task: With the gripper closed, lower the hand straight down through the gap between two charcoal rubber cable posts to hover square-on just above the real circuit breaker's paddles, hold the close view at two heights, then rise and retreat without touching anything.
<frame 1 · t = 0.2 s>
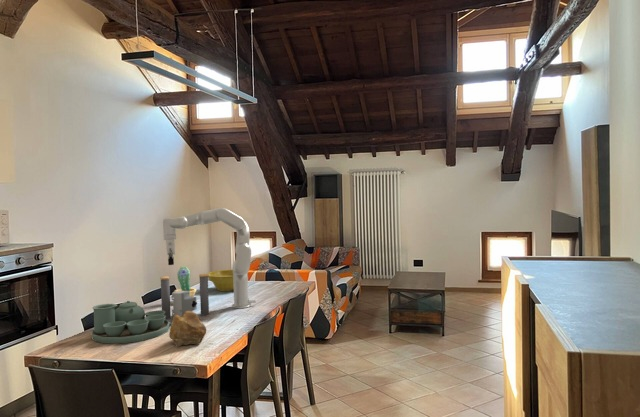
hand: (171, 263, 300), 31 cm above the table, fingers open, 9 cm apart
tea set: (132, 333, 258), on the table
planter bowl: (227, 289, 374), on the table
potted cactus: (185, 301, 334), on the table
circuit breaker: (185, 316, 291), on the table
post 2: (204, 314, 295), on the table
post 1: (166, 318, 288), on the table
rough brown rock: (190, 343, 237), on the table
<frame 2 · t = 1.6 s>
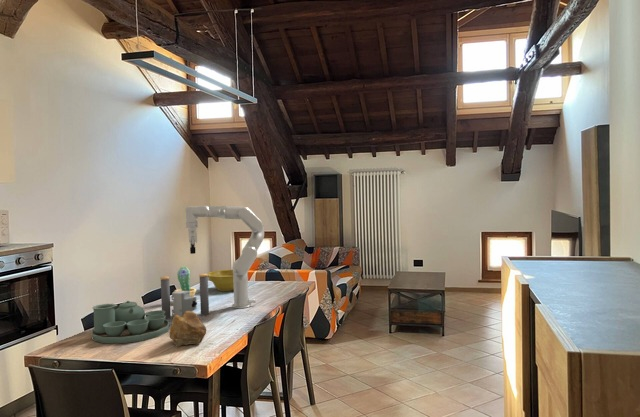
hand: (192, 253, 306), 37 cm above the table, fingers closed
nothing on the table moved.
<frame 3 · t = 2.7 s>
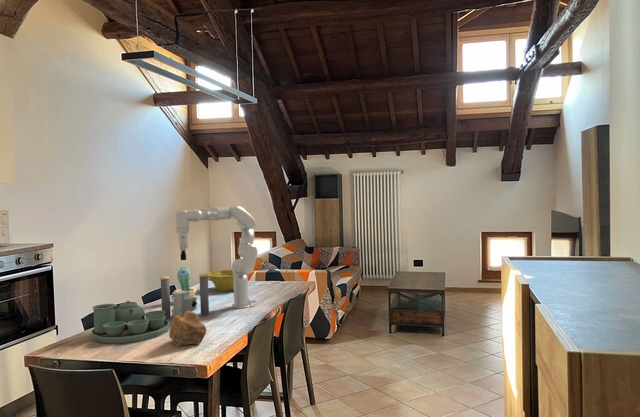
hand: (183, 259, 290), 35 cm above the table, fingers closed
nothing on the table moved.
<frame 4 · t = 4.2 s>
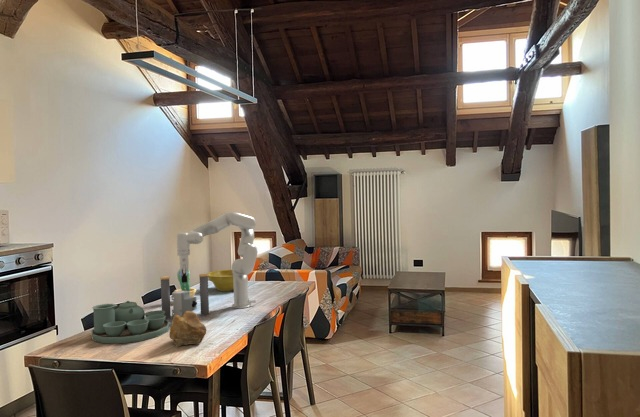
hand: (184, 282, 291), 21 cm above the table, fingers closed
nothing on the table moved.
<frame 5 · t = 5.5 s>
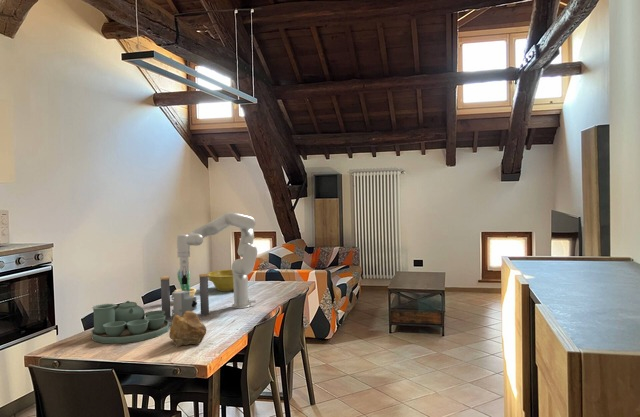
hand: (184, 284, 291), 20 cm above the table, fingers closed
nothing on the table moved.
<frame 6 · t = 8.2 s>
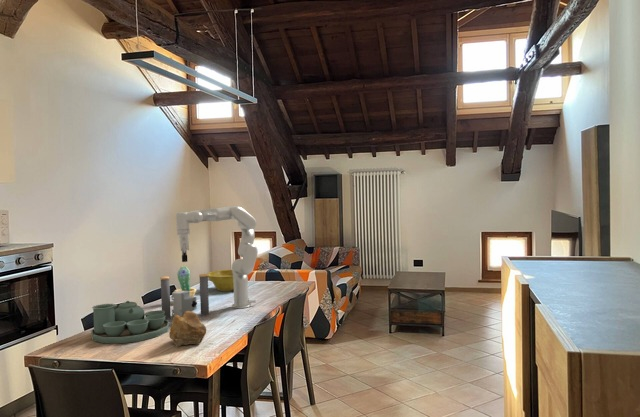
hand: (184, 261, 291), 34 cm above the table, fingers closed
nothing on the table moved.
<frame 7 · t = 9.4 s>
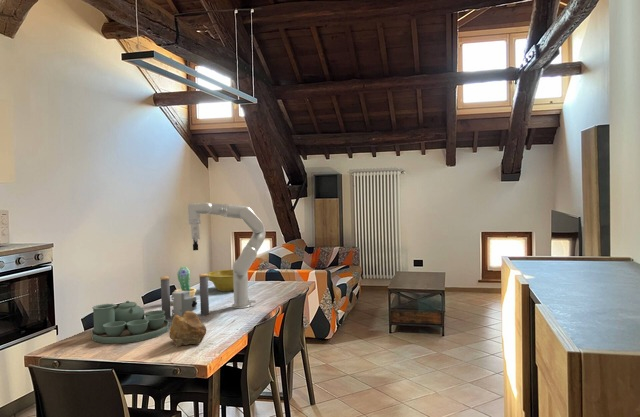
hand: (195, 250, 308), 39 cm above the table, fingers closed
nothing on the table moved.
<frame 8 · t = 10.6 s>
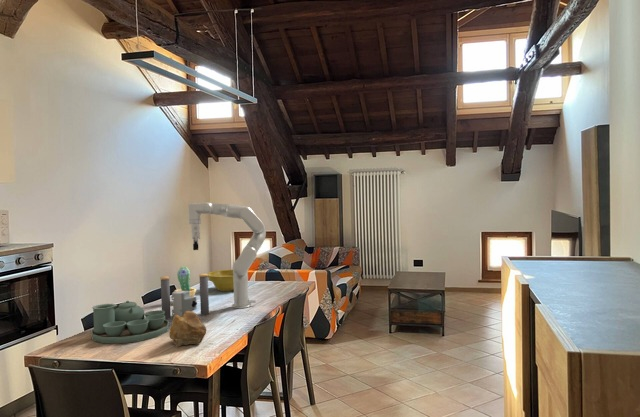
hand: (195, 249, 308), 39 cm above the table, fingers closed
nothing on the table moved.
at the end: circuit breaker moved 0.2 cm from its start; post 2 tilted 0°; post 1 tilted 0° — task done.
